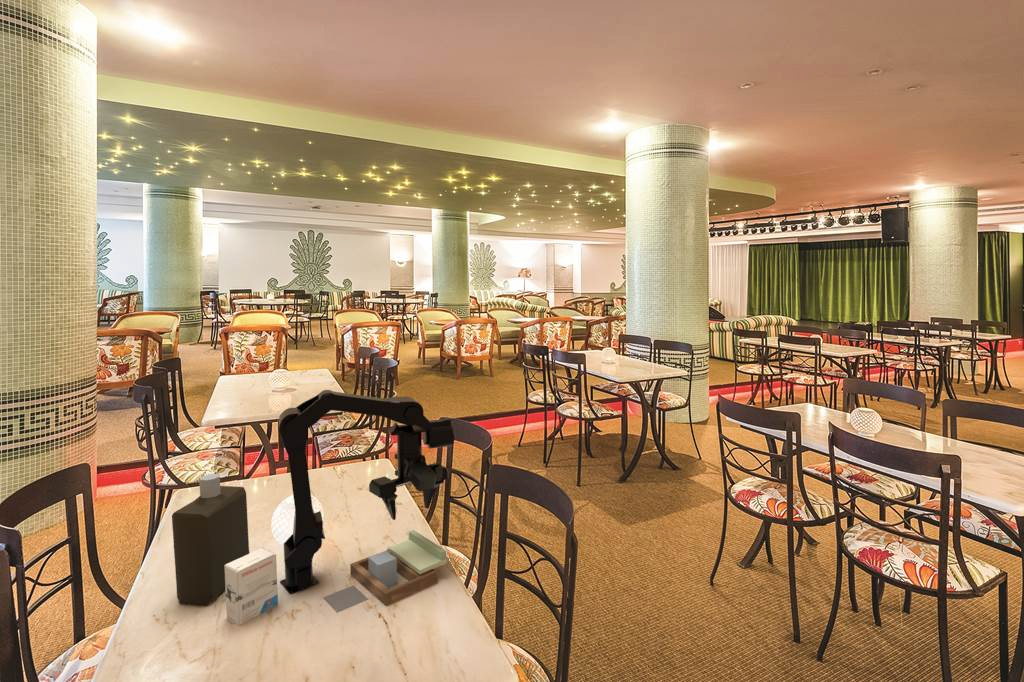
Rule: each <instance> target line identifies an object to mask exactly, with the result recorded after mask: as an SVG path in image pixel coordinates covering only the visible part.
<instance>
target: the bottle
mask: <svg viewBox="0 0 1024 682" xmlns="http://www.w3.org/2000/svg"><path fill="white" fill-rule="evenodd" d="M220 477H221V476H220V475H219V474H218V473H209V474H204V475H202V476H200V477H198V482H199V483H198V484H199V496H198V497H197V498H195V500H192V501H190V502H189V503H188V504H186V505H184V506H183V507H181V508H179V509H177V510H176V511H174V512H172V514H171V523H172V536H173V537H172V538H173V553H174V556H173V557H174V567H175V583H176V584H175V585H176V598H177V600H178V604H179V605H189V606H202V607H204V606H205V607H207V606H208V605H209V604H210V603H211V602H213V601H214V600H215V599H216V598H217V597H218V596H219V595H220V594H221V593H223V592H224V591H226V589H225V564H228V563H230V562H232V561H234V560H236V559H239V558H241V557H243V556H245V555H248V554H250V545H249V544H250V541H249V524H248V523H249V521H248V520H249V519H248V501H247V491H246V488H245V487H244V486H231V485H228V486H227V485H225V486H224V485H221V479H220Z"/></svg>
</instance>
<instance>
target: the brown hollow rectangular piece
mask: <svg viewBox="0 0 1024 682" xmlns="http://www.w3.org/2000/svg"><path fill="white" fill-rule="evenodd" d="M385 551H387V552H389V551H388V549H387V550H386V549H385ZM382 552H383V551H381V552H378V553H377V554H379V553H382ZM389 553H390V552H389ZM390 554H391V553H390ZM374 555H375V554H374ZM374 555H370V556H369V557H371V556H374ZM391 555H393V554H391ZM393 556H394V555H393ZM394 557H395V556H394ZM395 558H397V557H395ZM349 565H350V576H351V577H352V578H353V579H355V580H356V582H358V583H359V584H360V585H361V586H362V587H364V589H366V590H367V591H368V592H369V593H371V594H372V595H373V596H374V597H375V598H376V599H377V600H378V601H379V602H380V603H382V604H383V606H389V605H391V604H394V603H395V602H397V601H400V600H402V599H405V598H407V597H409V596H411V595H413V594H415V593H417V592H420V591H422V590H425V589H426V588H430V587H432V586H434V585H436V584H437V583H438V571H437V570H436V569H435V568H434V569H431V570H429V571H427V572H424V573H422V574H419V573H417V572H416V571H414V570H413V569H412V568H410V567H409V566H408V565H406V564H405V563H404V562H402V561H401V560H399V559H398V558H397V575H398V574H399V575H400V576H401V577H402V578H404V579H405V580H406V581H405V582H403V583H401V584H398V585H396V586H394V587H392V588H389V587H388V588H387V587H386V586H385V585H384V584H382V583H381V582H380V581H379V580H378V579H377V578H375V577H374V576H373V575H372V574H371V573H369V565H368V557H365V558H363V559H360V560H358V561H354V562H352V563H350V564H349Z"/></svg>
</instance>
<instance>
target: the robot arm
mask: <svg viewBox="0 0 1024 682" xmlns="http://www.w3.org/2000/svg"><path fill="white" fill-rule="evenodd" d="M331 411H335V412H344V413H350V414H360V415H366V416H367V415H368V416H374V417H382V418H385V419H389V420H391V421H393V422H394V423H393V425H392V426H391V427H389V428H388V430H387V431H388V433H389V434H390V436H392V437H394V436H396V444H397V445H396V447H397V449H396V451H397V453H395V454H394V459H395V460H396V461H397V470H395V471H394V475H395V476H396V477H397V478H393V479H390V478H389V477H387V476H386V475H385V476H382V477H376V478H373V479H371V481H370V482H369V486H368V491H369V492H370V493H371V494H373V495H375V496H377V497H378V498H379V499H381V500H382V502H383V503H384V505H385V507H386V510H387V511H388V514H389V516H390V518H391V519H392V520H393V521H396V519H397V518H396V517H397V510H396V507H397V506H396V500H397V498H398V495H397V494H396V492H397V488H399V487H403V486H406V485H409V484H412V486H413V487H414V488H415V490H417V492H422V496H423V504H424V508H425V509H426V510H428V509H430V506H431V503H432V500H433V498H434V495H435V492H436V490H437V488H438V487H439V486H440V485H442V484H444V483H445V481H446V480H449V470H448V468H447V467H446V466H444V465H442V464H441V463H436V462H433V463H430V464H427V460H426V456H425V454H423V448H422V447H423V445H424V446H427V448H428V449H431V450H432V449H438V448H439V449H440V448H446V447H453V445H454V444H455V434H454V429H453V425H452V420H451V419H450V418H449V417H444V418H440V419H431V420H429V419H428V418H427V417H426V416H425V415H424V412H425V411H424V407H423V406H422V405H421V403H419V401H418V400H416V399H415V398H413V397H412V396H392V397H385V398H384V397H383V398H382V397H376V396H375V397H374V396H370V395H369V396H367V395H360V394H353V393H348V392H339V391H333V390H331V389H324V390H322V391H321V392H319V393H318V394H316V395H315V396H313V397H311V398H309V399H307V400H305V401H304V402H302V403H300V404H299V405H297V406H295V407H289V408H287V409H284V410H283V411H282V412H281V413H280V414H279V417H278V429H279V430H278V431H279V433H280V434H279V435H280V436H281V440H282V443H283V446H284V448H285V451H286V454H287V456H288V462H289V463H288V464H289V470H290V479H291V487H292V488H291V489H292V495H293V496H292V497H293V502H294V517H293V527H292V528H293V529H292V534H291V535H290V536H289V537H288V538H287V539H286V541H284V543H283V559H284V561H283V562H284V575H285V576H284V579H281V580H280V581H279V584H280V585H281V586H282V587H283V588H284V589H285V591H287V593H288V594H289V595H292V594H293V595H294V594H296V593H298V592H301V591H303V590H306V589H309V588H311V587H314V586H317V585H319V583H320V582H319V580H318V579H317V578H316V577H315V576H314V572H313V571H314V570H313V568H314V567H313V566H314V565H313V559H314V556H315V554H316V553H318V551H319V550H320V549H321V548H322V546H323V540H325V539H326V536H325V535H326V534H325V532H324V525H323V524H324V521H323V517H322V513H321V512H322V511H316V512H315V511H314V508H313V502H312V492H311V485H310V484H311V483H310V477H309V470H308V469H309V468H308V467H309V466H308V460H307V459H308V458H307V447H308V439H309V438H308V437H309V429H310V428H311V427H312V426H314V425H315V424H317V422H319V421H320V420H321V419H322V418H324V416H326V414H328V413H329V412H331ZM399 424H402V425H399ZM413 426H414V427H413ZM422 443H423V444H422Z"/></svg>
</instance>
